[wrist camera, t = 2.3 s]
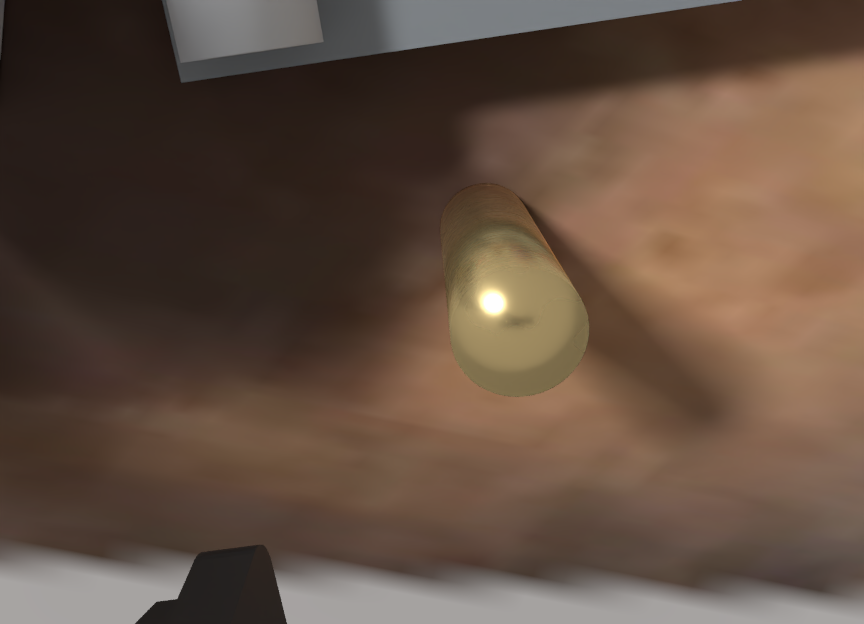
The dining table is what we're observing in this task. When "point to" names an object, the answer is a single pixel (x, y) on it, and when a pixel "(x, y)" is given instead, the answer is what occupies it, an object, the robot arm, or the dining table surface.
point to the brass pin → (507, 296)
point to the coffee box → (1, 21)
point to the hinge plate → (362, 27)
